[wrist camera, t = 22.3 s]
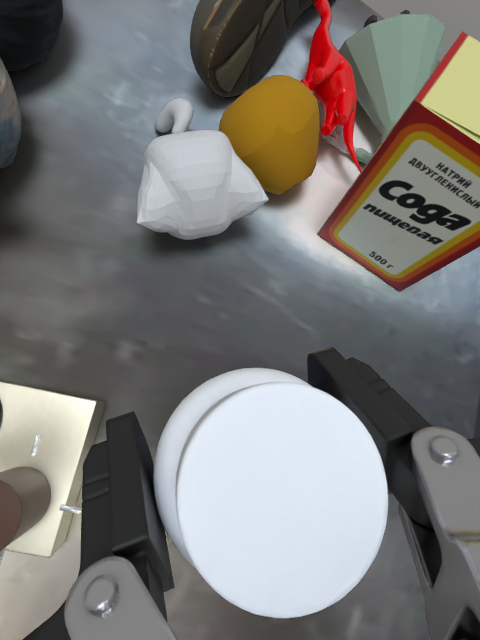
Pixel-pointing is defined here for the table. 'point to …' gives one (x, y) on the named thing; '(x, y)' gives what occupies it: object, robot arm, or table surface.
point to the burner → (1, 413)
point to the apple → (275, 131)
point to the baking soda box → (420, 181)
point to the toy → (193, 179)
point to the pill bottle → (271, 491)
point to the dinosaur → (332, 81)
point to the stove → (48, 454)
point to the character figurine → (390, 68)
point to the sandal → (239, 40)
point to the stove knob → (21, 502)
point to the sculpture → (8, 119)
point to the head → (28, 31)
